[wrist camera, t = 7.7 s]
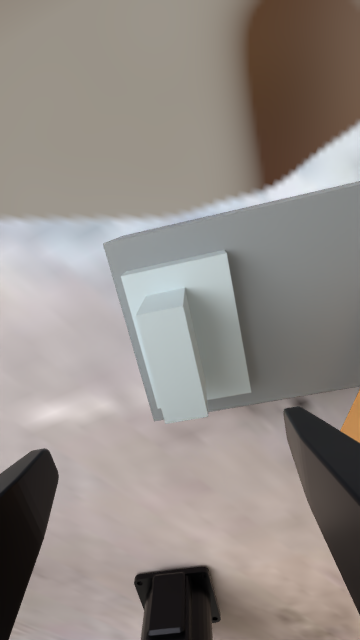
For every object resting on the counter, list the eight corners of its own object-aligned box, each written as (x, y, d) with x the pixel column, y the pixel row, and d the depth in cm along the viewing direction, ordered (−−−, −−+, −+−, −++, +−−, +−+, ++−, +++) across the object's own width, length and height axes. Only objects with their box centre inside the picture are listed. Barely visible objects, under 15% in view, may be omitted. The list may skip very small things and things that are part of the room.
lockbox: (388, 340, 21) (439, 374, 17) (161, 381, 23) (153, 422, 19) (383, 175, 18) (443, 165, 14) (122, 236, 20) (102, 243, 16)
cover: (247, 380, 18) (263, 430, 14) (160, 396, 18) (150, 448, 14) (224, 250, 16) (235, 263, 12) (125, 271, 16) (103, 292, 12)
